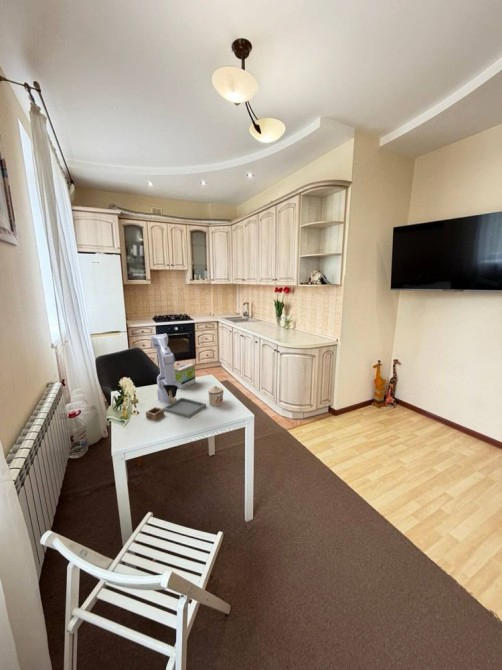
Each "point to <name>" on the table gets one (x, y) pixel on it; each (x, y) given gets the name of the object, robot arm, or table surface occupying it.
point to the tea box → (185, 374)
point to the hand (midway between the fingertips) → (172, 396)
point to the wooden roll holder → (155, 413)
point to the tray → (185, 407)
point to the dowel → (171, 398)
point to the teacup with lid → (215, 396)
